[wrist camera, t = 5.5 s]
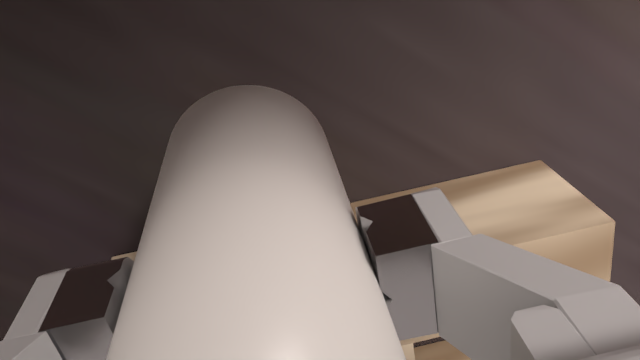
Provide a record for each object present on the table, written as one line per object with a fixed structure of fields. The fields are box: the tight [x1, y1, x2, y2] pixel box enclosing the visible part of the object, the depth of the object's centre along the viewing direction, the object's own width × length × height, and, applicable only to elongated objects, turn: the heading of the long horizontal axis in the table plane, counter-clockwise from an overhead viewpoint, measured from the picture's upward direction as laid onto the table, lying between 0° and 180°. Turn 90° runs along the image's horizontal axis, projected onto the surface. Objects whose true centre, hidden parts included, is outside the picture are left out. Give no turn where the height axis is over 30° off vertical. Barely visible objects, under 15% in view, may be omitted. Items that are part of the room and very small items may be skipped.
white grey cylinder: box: [106, 85, 406, 360], centre depth 9 cm, size 4×4×10 cm
